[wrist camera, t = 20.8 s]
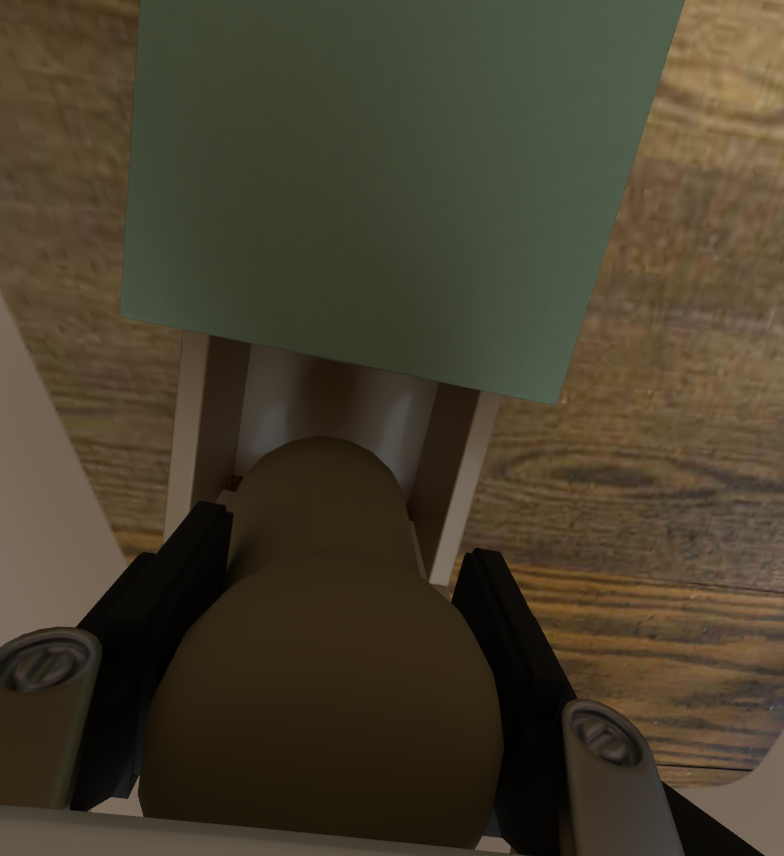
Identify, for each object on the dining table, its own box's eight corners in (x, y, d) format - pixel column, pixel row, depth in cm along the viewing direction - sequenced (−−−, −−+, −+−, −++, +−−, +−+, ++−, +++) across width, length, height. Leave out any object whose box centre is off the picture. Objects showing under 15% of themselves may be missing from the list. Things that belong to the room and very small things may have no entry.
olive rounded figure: (259, 412, 15) (136, 532, 5) (430, 464, 17) (643, 654, 6) (206, 583, 16) (-14, 1044, 5) (376, 622, 17) (481, 1061, 6)
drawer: (399, 633, 27) (416, 767, 19) (190, 605, 25) (120, 739, 18) (491, 282, 22) (562, 279, 14) (236, 221, 20) (166, 183, 13)
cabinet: (478, 360, 24) (556, 406, 14) (217, 304, 22) (118, 316, 13) (570, 14, 20) (757, -223, 11) (262, -83, 18) (167, -466, 9)
